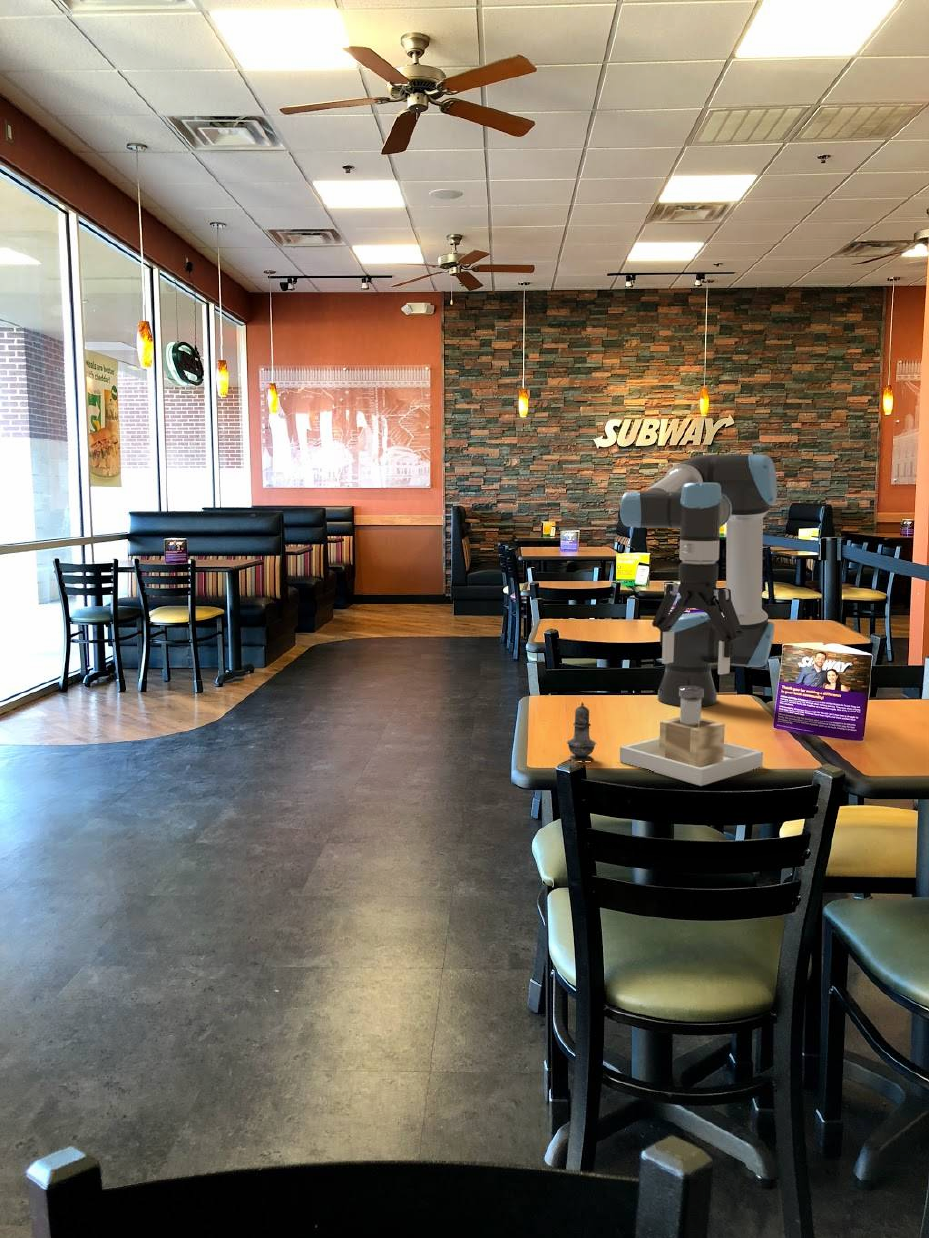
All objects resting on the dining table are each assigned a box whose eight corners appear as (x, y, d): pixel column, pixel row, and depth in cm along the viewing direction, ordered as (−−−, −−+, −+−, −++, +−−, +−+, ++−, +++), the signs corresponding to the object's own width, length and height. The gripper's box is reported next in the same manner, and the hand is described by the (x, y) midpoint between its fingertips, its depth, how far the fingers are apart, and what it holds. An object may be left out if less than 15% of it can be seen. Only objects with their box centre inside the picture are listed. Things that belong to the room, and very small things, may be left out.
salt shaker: (575, 764, 187) (577, 706, 185) (561, 757, 192) (562, 700, 191) (601, 761, 189) (602, 704, 188) (586, 754, 195) (587, 698, 193)
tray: (681, 745, 202) (682, 731, 201) (762, 766, 186) (763, 751, 186) (619, 761, 189) (620, 746, 189) (700, 785, 174) (701, 769, 174)
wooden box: (686, 752, 194) (688, 715, 193) (723, 762, 187) (724, 723, 186) (658, 760, 189) (660, 721, 187) (695, 770, 182) (696, 730, 181)
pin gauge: (686, 756, 191) (689, 684, 189) (705, 761, 188) (708, 688, 185) (671, 760, 188) (674, 687, 186) (690, 766, 185) (693, 692, 182)
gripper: (636, 558, 190) (634, 660, 193) (742, 567, 170) (737, 681, 174) (660, 556, 194) (657, 656, 198) (765, 565, 175) (760, 675, 178)
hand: (694, 668), depth 186 cm, fingers open, 13 cm apart
